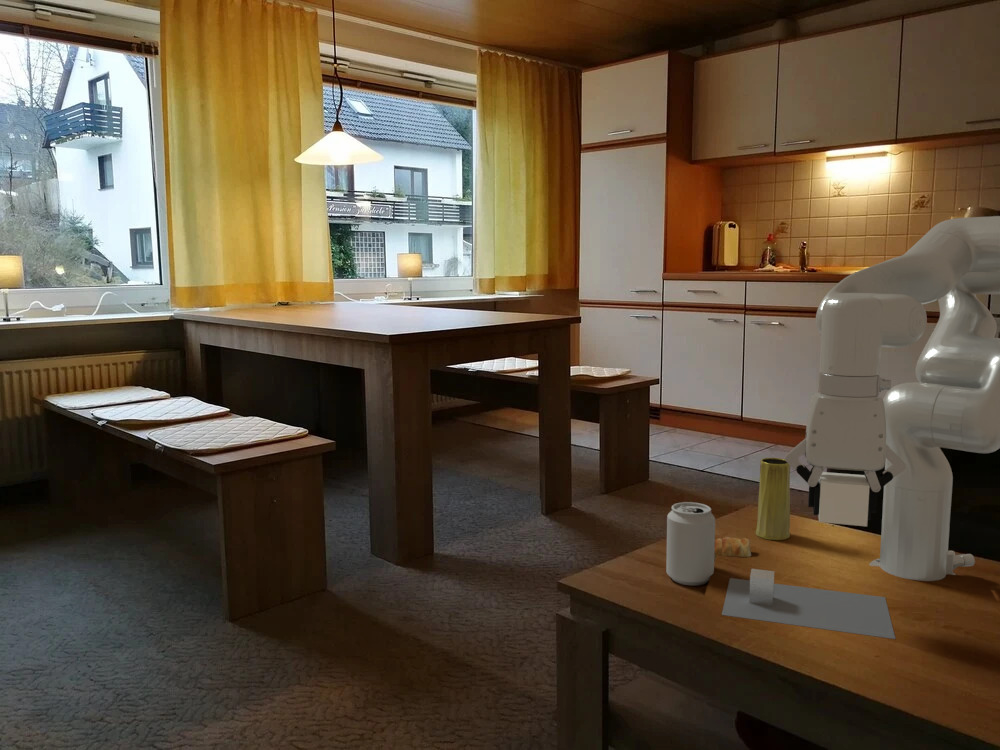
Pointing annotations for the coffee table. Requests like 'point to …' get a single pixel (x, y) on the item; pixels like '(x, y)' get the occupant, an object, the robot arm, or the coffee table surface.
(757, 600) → the small white block
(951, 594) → the coffee table surface
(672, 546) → the can
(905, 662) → the coffee table surface
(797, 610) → the board
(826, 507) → the cream foam cube
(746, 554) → the pastry
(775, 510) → the vase
